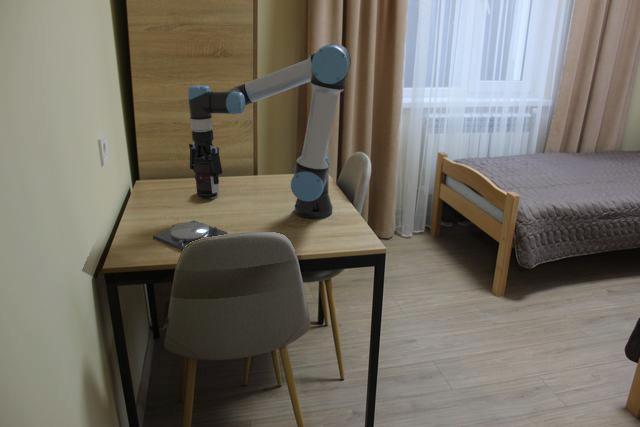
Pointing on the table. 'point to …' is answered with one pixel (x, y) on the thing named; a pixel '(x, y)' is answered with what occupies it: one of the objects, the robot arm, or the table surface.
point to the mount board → (175, 243)
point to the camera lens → (203, 177)
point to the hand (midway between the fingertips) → (207, 190)
